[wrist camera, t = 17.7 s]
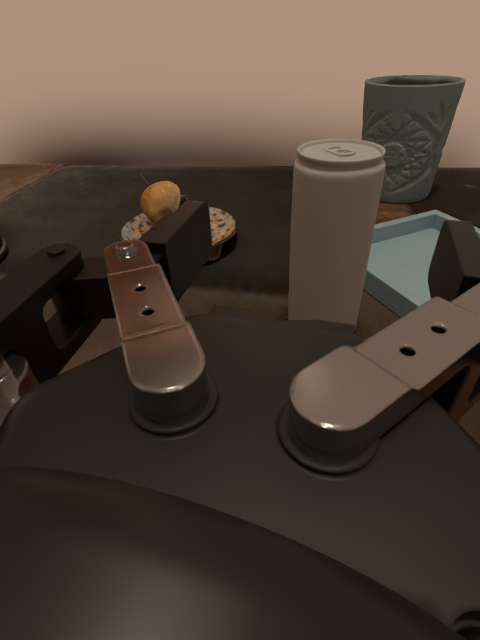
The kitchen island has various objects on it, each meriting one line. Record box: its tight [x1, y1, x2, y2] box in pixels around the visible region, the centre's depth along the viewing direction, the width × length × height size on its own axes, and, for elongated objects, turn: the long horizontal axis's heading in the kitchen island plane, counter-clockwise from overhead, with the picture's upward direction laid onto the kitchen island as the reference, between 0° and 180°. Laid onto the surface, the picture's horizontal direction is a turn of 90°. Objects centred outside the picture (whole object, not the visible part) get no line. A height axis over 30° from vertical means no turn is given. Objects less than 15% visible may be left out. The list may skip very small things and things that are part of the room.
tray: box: [363, 210, 480, 318], centre depth 32 cm, size 16×14×2 cm
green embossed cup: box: [362, 75, 465, 203], centre depth 45 cm, size 10×10×12 cm
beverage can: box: [288, 139, 386, 330], centre depth 24 cm, size 5×5×12 cm
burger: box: [119, 172, 237, 261], centre depth 37 cm, size 12×12×8 cm
